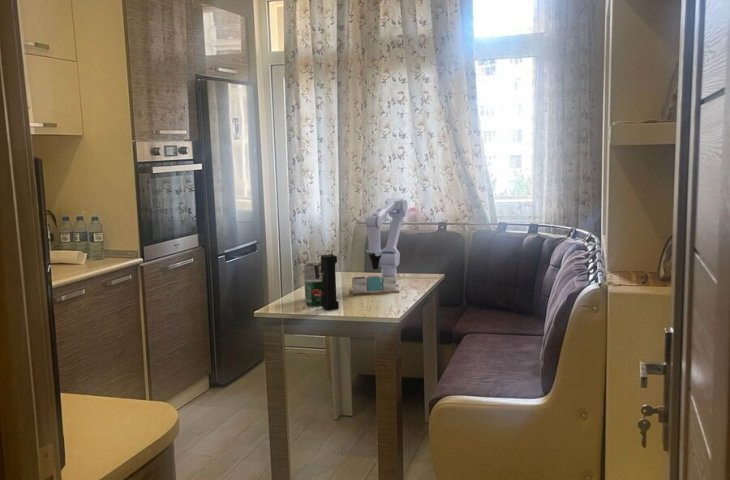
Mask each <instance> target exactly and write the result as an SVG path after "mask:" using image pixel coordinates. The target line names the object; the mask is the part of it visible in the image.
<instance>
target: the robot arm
mask: <svg viewBox="0 0 730 480" xmlns="http://www.w3.org/2000/svg"><path fill="white" fill-rule="evenodd" d="M408 207H409V206H408V201H407V199H406V198H405V197H403V198H390V197H389V198H386V200H385V203H384V205H383V207H382V208H381V207H379V208H377V210H376V211H375V212H374V213H373V214H372V215H369V216H367V217H366V218H365V222H364V223H365V227H366V231H367V235H368V237H367V239H368V240H367V241H368V249H367V250H366V252H367V253H371V254H368V258H369V259H370V262H371V267H372V270H378V269H379V266H380V268H381V270H380V271H381V272H380V275H381V276H383V275H394V276H396V286H399V285H400V284H399V283H398V280H397V278H398V277H397V267H399V265H400V261H401V260H400V259H401V253H400V251H399V250H398V249H397V247H398V246H397V245H398V241H399V237H400V233H401V228H402V226H403V220H404V218H405V217H406V214H407V210H408ZM388 216H389V217H391V218H392V220H391V224H390V228H389V233H388V236H387V237H388V238H387V242H386V246H385V247H384V248H381V228H382V226H383V223H384V221H385V220H386V219H387V218H388ZM381 276H380V277H381ZM381 286H382V280H381Z"/></svg>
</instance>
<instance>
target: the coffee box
mask: <svg viewBox="0 0 730 480" xmlns="http://www.w3.org/2000/svg"><path fill="white" fill-rule="evenodd" d="M303 271H304V273H303V274H304V275H303V276H304V280H303V281H305V280H308V279H322V274H321V262H313V263H311V262H309V263H307V264H305V265H304V266H303ZM304 300H305V302H306V285H305V284H304Z"/></svg>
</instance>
